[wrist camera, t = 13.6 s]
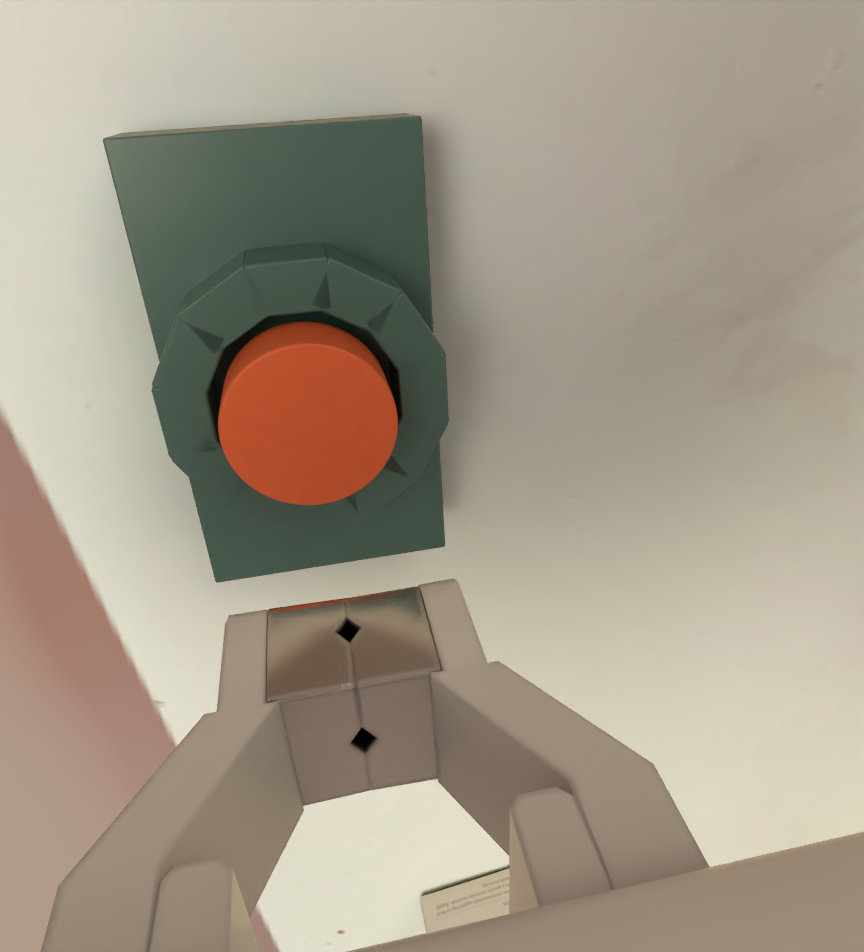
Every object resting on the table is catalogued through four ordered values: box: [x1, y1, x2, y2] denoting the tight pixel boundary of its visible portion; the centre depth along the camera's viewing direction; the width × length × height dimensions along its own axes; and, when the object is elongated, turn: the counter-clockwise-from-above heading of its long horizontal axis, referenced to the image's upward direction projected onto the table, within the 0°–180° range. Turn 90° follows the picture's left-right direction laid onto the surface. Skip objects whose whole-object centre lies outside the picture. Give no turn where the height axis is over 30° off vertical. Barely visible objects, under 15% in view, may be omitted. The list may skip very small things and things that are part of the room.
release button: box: [218, 321, 398, 505], centre depth 17 cm, size 4×4×2 cm
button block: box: [103, 114, 449, 582], centre depth 19 cm, size 12×7×4 cm, turn 3°
